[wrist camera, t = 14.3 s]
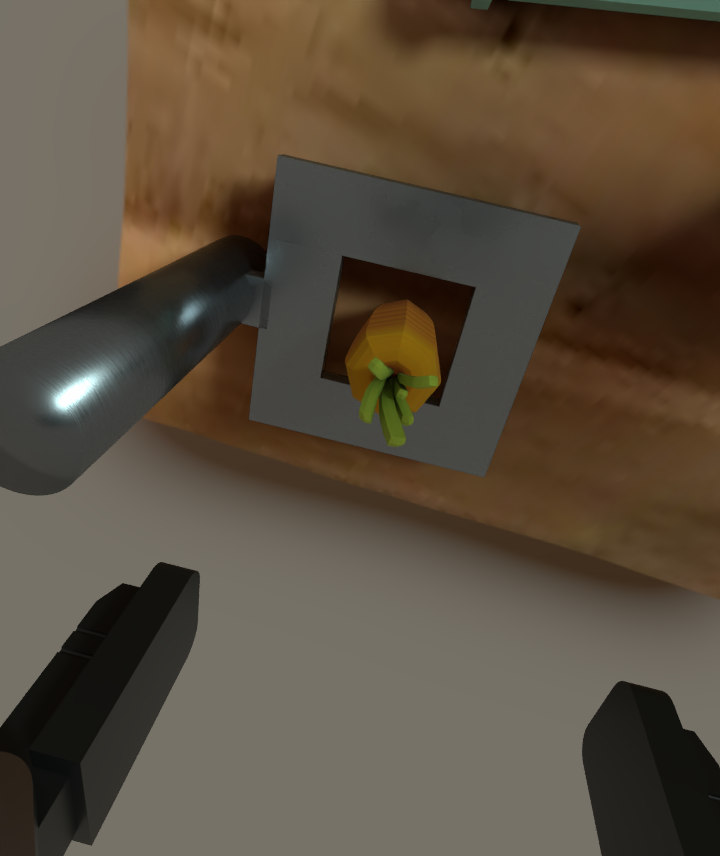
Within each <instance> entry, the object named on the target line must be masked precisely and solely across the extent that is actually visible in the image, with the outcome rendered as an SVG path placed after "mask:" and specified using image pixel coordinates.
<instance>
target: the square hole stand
mask: <svg viewBox="0 0 720 856" xmlns="http://www.w3.org/2000/svg"><path fill="white" fill-rule="evenodd" d="M580 228H581V226H580V225H579V224H578V223H576V222H572V221H567V220H563V219H559V218H554V217H550V216H546V215H542V214H537V213H533V212H529V211H524V210H520V209H516V208H512V207H507V206H503V205H499V204H494V203H490V202H486V201H482V200H477V199H473V198H469V197H464V196H460V195H456V194H452V193H447V192H443V191H439V190H434V189H430V188H426V187H422V186H417V185H413V184H409V183H404V182H400V181H396V180H392V179H387V178H383V177H379V176H374V175H370V174H366V173H361V172H357V171H353V170H349V169H344V168H340V167H336V166H331V165H327V164H323V163H319V162H314V161H310V160H306V159H301V158H297V157H293V156H289V155H284V154H283V155H278V158H277V167H276V176H275V185H274V194H273V203H272V212H271V221H270V231H269V240H268V249H267V254H266V252H265V251H264V250H263V249H262V248H261V247H260V246H259V245H258V244H257V243H255V242H254V241H252V240H250V239H248V238H245V237H242V236H227V237H224V238H222V239H219V240H217V241H215V242H213V243H211V244H209V245H207V246H205V247H203V248H201V249H199V250H197V251H195V252H193V253H191V254H189V255H187V256H185V257H183V258H181V259H179V260H176V261H174V262H172V263H170V264H168V265H166V266H164V267H162V268H160V269H158V270H156V271H154V272H152V273H150V274H148V275H146V276H144V277H142V278H140V279H138V280H136V281H134V282H132V283H130V284H127V285H125V286H123V287H121V288H119V289H117V290H115V291H113V292H111V293H109V294H107V295H105V296H103V297H101V298H99V299H97V300H95V301H93V302H91V303H89V304H87V305H85V306H83V307H81V308H79V309H77V310H74V311H73V312H70V313H68V314H66V315H65V316H62V317H60V318H58V319H56V320H54V321H52V322H50V323H48V324H46V325H44V326H42V327H40V328H38V329H36V330H34V331H32V332H30V333H27V334H25V335H24V336H21V337H19V338H17V339H15V340H13V341H11V342H9V343H7V344H5V345H3V346H1V347H0V486H1V487H4V488H6V489H8V490H11V491H14V492H18V493H22V494H27V495H49V494H54V493H57V492H60V491H62V490H64V489H66V488H67V487H68V486H70V485H71V484H72V483H73V482H74V481H75V480H76V479H77V478H78V477H80V476H81V475H82V474H83V473H84V472H85V471H86V470H87V469H88V468H89V467H90V466H91V465H92V464H93V463H94V462H95V461H96V460H97V459H98V458H100V457H101V456H102V455H103V454H104V453H105V452H106V451H107V450H108V449H109V448H110V447H111V446H112V445H113V444H114V443H115V442H116V441H117V440H118V439H120V438H121V436H123V435H124V434H125V433H126V432H127V431H128V430H129V429H130V428H131V427H132V426H133V425H134V424H135V423H136V422H137V421H138V420H140V419H141V418H142V417H143V416H144V415H145V414H146V413H147V412H148V411H149V410H150V409H151V408H152V407H153V406H154V405H155V404H156V403H157V402H158V401H160V400H161V399H162V398H163V397H164V396H165V395H166V394H167V393H168V392H169V391H170V390H171V389H172V388H173V387H174V386H175V385H176V384H177V383H178V382H180V381H181V380H182V379H183V378H184V377H185V376H186V375H187V374H188V373H189V372H190V371H191V370H192V369H193V368H194V367H195V366H196V365H197V364H198V363H200V362H201V361H202V360H203V359H204V358H205V357H206V356H207V355H208V354H209V353H210V352H211V351H212V350H213V349H214V348H215V347H216V346H217V345H218V344H220V343H221V342H222V341H223V340H224V339H225V338H226V337H227V336H228V335H229V334H230V333H231V332H232V331H233V330H234V329H235V328H236V327H237V326H238V325H240V324H241V323H242V324H246V325H250V326H254V327H258V328H259V331H258V340H257V349H256V358H255V367H254V376H253V385H252V395H251V404H250V413H249V420H253V421H257V422H261V423H265V424H269V425H273V426H277V427H281V428H285V429H289V430H293V431H297V432H302V433H306V434H310V435H314V436H318V437H322V438H326V439H330V440H334V441H338V442H342V443H346V444H351V445H355V446H359V447H363V448H367V449H371V450H375V451H379V452H383V453H387V454H391V455H395V456H400V457H404V458H408V459H412V460H416V461H420V462H424V463H428V464H432V465H436V466H440V467H444V468H449V469H453V470H457V471H461V472H465V473H469V474H473V475H477V476H481V477H485V475H486V472H487V469H488V467H489V464H490V462H491V459H492V457H493V454H494V451H495V449H496V446H497V444H498V441H499V438H500V436H501V433H502V431H503V428H504V425H505V423H506V420H507V418H508V415H509V412H510V410H511V407H512V405H513V402H514V399H515V397H516V394H517V392H518V389H519V386H520V384H521V381H522V379H523V376H524V373H525V371H526V368H527V366H528V363H529V360H530V358H531V355H532V353H533V350H534V347H535V345H536V342H537V340H538V337H539V334H540V332H541V329H542V327H543V324H544V321H545V319H546V316H547V314H548V311H549V308H550V306H551V303H552V301H553V298H554V295H555V293H556V290H557V288H558V285H559V282H560V280H561V277H562V275H563V272H564V269H565V267H566V264H567V262H568V259H569V256H570V254H571V251H572V249H573V246H574V243H575V241H576V238H577V236H578V233H579V230H580ZM345 256H346V257H350V258H355V259H359V260H363V261H367V262H372V263H376V264H380V265H384V266H388V267H393V268H397V269H401V270H405V271H410V272H414V273H418V274H422V275H426V276H431V277H435V278H439V279H443V280H448V281H452V282H456V283H460V284H464V285H469V286H473V290H472V294H471V297H470V300H469V303H468V307H467V310H466V313H465V316H464V320H463V323H462V326H461V330H460V333H459V336H458V339H457V343H456V346H455V349H454V352H453V356H452V359H451V362H450V365H449V369H448V372H447V375H446V379H445V382H444V385H443V388H442V392H441V395H440V398H435V397H431V396H430V397H429V398H428V399H427V400H426V401H425V403H424V404H423V405H422V406H421V407H420V408H419V410H418V411H417V412H414V413H412V414H413V416H414V422H413V424H412V425H409V426H404V425H402V427H403V430H404V433H405V436H406V442H405V444H404V445H402V446H398V447H392V446H388V445H387V443H386V440H385V437H384V435H383V431H382V427H381V423H380V419H379V414H378V413H376V412H374V416H373V419H372V422H371V424H369V423H365V422H363V421H361V420H360V418H359V409H360V405H361V402H360V401H358V400H357V399H355V398H354V397H353V396H352V392H351V387H350V382H349V378H348V376H345V375H340V374H336V373H332V372H328V371H324V368H325V362H326V357H327V351H328V346H329V340H330V335H331V329H332V323H333V318H334V312H335V307H336V301H337V296H338V290H339V285H340V279H341V274H342V268H343V263H344V257H345Z"/></svg>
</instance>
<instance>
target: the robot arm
mask: <svg viewBox="0 0 720 856" xmlns="http://www.w3.org/2000/svg"><path fill="white" fill-rule="evenodd" d="M199 584H200V575H199V572H198V571H195V570H191V569H186V568H182V567H179V566H175V565H171V564H167V563H163V562H160V563H158V564H157V565H156V566H155V567H154V568H153V570H152V571H151V572H150V574H149V575H148V577H147V578H146V580H145V581H144V582H143V584H142V585H141V587H136V586H132V585H128V584H124V583H122V584H121V585H120V586H118V587H116V588H115V589H114V590H112V591H111V592H109V593H108V594H106V595H105V596H103V597H102V598H100V599H99V600H98V601H96V603H95V604H94V605H93V606H92V608H91V609H90V610H89V612H88V613H87V614H86V616H85V617H84V618H83V620H82V621H81V622H80V624H79V625H78V627H77V630H76V631H73V633H72V634H71V635H70V637H69V638H68V639H67V640H66V642H65V643H64V644H63V646H62V649H61V651H60V652H57V654H56V655H55V656H54V658H53V659H52V660H51V662H50V663H49V664H48V666H47V667H46V668H45V669H44V671H43V672H42V673H41V675H40V676H39V677H38V679H37V680H36V681H35V683H34V684H33V685H32V687H31V688H30V689H29V690H28V692H27V693H26V694H25V696H24V697H23V699H22V700H21V701H20V703H19V704H18V705H17V706H16V708H15V709H14V710H13V712H12V713H11V714H10V715H9V717H8V718H7V719H6V721H5V722H4V723H3V725H2V726H1V727H0V856H63V855H64V854H65V852H66V849H67V848H68V846H69V844H70V842H71V840H74V841H77V842H81V843H84V844H88V845H92V844H93V842H94V839H95V838H96V836H97V834H98V832H99V830H100V828H101V826H102V824H103V822H104V820H105V818H106V816H107V814H108V812H109V810H110V808H111V807H112V805H113V802H114V801H115V799H116V797H117V795H118V793H119V791H120V789H121V787H122V785H123V783H124V781H125V779H126V777H127V775H128V773H129V771H130V769H131V767H132V765H133V763H134V761H135V759H136V757H137V755H138V753H139V751H140V749H141V747H142V745H143V744H144V741H145V740H146V738H147V735H148V734H149V732H150V730H151V728H152V726H153V724H154V722H155V720H156V718H157V716H158V714H159V712H160V710H161V708H162V706H163V704H164V702H165V700H166V698H167V696H168V694H169V692H170V690H171V688H172V686H173V684H174V682H175V680H176V679H177V676H178V675H179V673H180V671H181V669H182V667H183V665H184V663H185V661H186V659H187V657H188V655H189V652H190V650H191V647H192V644H193V641H194V638H195V634H196V630H197V623H198V604H199ZM582 757H583V765H584V770H585V775H586V780H587V785H588V790H589V795H590V800H591V805H592V810H593V814H594V820H595V825H596V829H597V834H598V839H599V844H600V849H601V854H602V856H720V767H719V765H718V763H717V762H716V761H715V759H714V758H713V757H712V755H711V754H710V753H709V751H708V750H707V748H706V747H705V746H704V744H703V743H702V742H701V740H700V739H699V737H698V736H697V735H696V733H695V732H693V731H689V730H685V729H683V728H682V725H681V722H680V720H679V717H678V715H677V712H676V709H675V706H674V704H673V702H672V700H671V698H670V697H669V696H668V694H667V693H665V692H663V691H660V690H656V689H652V688H648V687H644V686H640V685H636V684H633V683H628V682H625V681H620V682H618V683H617V684H616V685H615V686H614V687H613V689H612V690H611V692H610V693H609V695H608V696H607V698H606V699H605V701H604V702H603V704H602V705H601V706H600V708H599V709H598V711H597V713H596V714H595V715H594V717H593V718H592V720H591V721H590V723H589V724H588V726H587V728H586V730H585V733H584V738H583V747H582Z"/></svg>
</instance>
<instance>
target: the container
mask: <svg viewBox="0 0 720 856" xmlns="http://www.w3.org/2000/svg"><path fill="white" fill-rule="evenodd" d="M491 1H492V0H472V1H471V8H474V9H484V10H488V8H489V6H490V3H491ZM510 1H520V2H530V3H540V4H550V5H560V6H570V7H580V8H590V9H600V10H609V11H619V12H629V13H639V14H649V15H659V16H669V17H679V18H689V19H699V20H708V21H718V22H720V0H510Z"/></svg>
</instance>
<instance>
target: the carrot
mask: <svg viewBox="0 0 720 856" xmlns="http://www.w3.org/2000/svg"><path fill="white" fill-rule="evenodd" d="M345 364H346V368H347V373H348V378H349V382H350V387H351V392H352V396H353V397H354V398H355V399H357V400H358V401H360V402H361V405H360V409H359V418H360V420H361V421H363V422H365V423H369V424H371V422H372V419H373V416H374V412H376V413H378V414H379V419H380V423H381V427H382V431H383V435H384V437H385V440H386V443H387V445H388V446H392V447H398V446H402V445H404V444H405V442H406V436H405V433H404V430H403V427H402V425H404V426H409V425H412V424H413V422H414V416H413V414H412V413H414V412H417V411H418V410H419V408H420V407H421V406H422V405H423V404H424V403H425V401H426V400H427V399H428V398H429V397H430V396H431V394H432V393H433V392H434V391H435V390H436V389H437V387H438V386H439V385H440V383H441V375H440V365H439V357H438V350H437V342H436V334H435V328H434V323H433V322H432V320H431V318H430V317H429V316H428V315H427V314H426V312H424V311H423V310H421V309H420V308H419V307H417V306H416V305H415V304H413V303H412V302H410V301H409V300H408V299H405V300H399V301H392V302H386V303H383V304H381V305H380V306H379V307H377V308H376V309H375V310H374V312H373V313H372V315H371V316H370V317H369V319H368V320H367V321H366V323H365V324H364V326H363V327H362V328H361V330H360V331H359V333H358V334H357V336H356V337H355V339H354V341H353V343H352V345H351V347H350V349H349V351H348V353H347V355H346V358H345Z"/></svg>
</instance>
